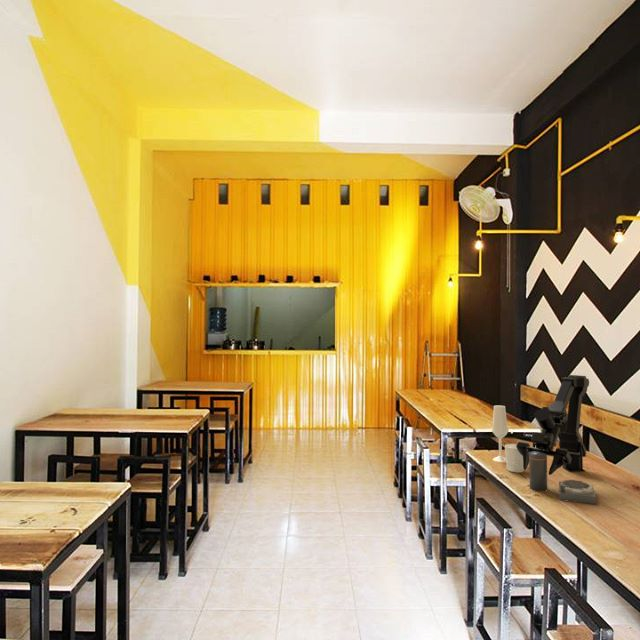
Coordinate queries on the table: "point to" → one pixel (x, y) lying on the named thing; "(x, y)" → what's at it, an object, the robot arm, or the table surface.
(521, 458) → the white cup
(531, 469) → the lens
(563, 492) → the camera body
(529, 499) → the table surface
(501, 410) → the champagne flute
